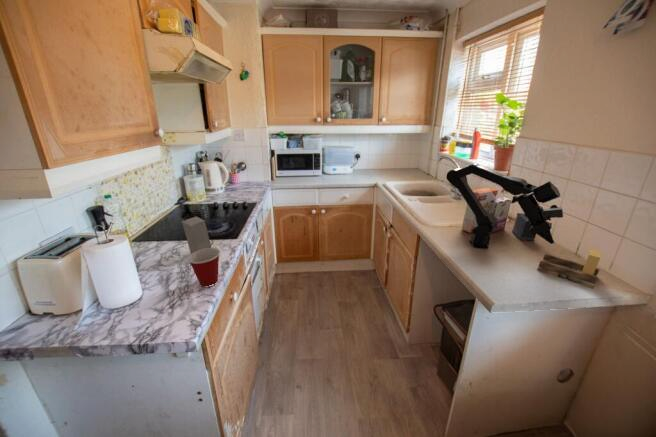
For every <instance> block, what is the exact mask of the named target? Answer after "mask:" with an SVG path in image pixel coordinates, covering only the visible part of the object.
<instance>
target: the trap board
mask: <svg viewBox="0 0 656 437" xmlns="http://www.w3.org/2000/svg"><path fill="white" fill-rule="evenodd" d="M584 266H585V264H584V263H581V262H577V261H573V260H571V259H567V258H562V257H560V256H556V255H553V254H549V253H546V252H545V253H544V255H543V258H542V259H540V261H539V264H538V266H537V269H536V270H537V271H539V272H541V273H545V274H549V275H551V276H554V277H558V278H560V279H564V280H566V281H568V282H572V283H575V284H578V285H581V286H584V287H587V288H591V289H594V287H595V285H596V283H597V280H598V279H599V278H598V274H599V272H600V268H597V267H596V269H595V272H594V274H593V276H591V275H588V274H585V273H582V271H583V268H584Z"/></svg>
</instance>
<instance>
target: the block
mask: <svg viewBox="0 0 656 437" xmlns="http://www.w3.org/2000/svg"><path fill="white" fill-rule="evenodd" d="M602 253H603V252H602V251H600V250H597V249H596V250H595V249H592V248H591V249H590V250H589V254H588V255H587V259H586V260H585V264H584V265H585V266H584V268H583V271H582V273H585V274H588V275H591V276H593V274H594V272H595V269H596V268H597V267H598V265H599V261H600V259H601V256H602Z"/></svg>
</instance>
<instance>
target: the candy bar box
mask: <svg viewBox="0 0 656 437" xmlns="http://www.w3.org/2000/svg"><path fill="white" fill-rule="evenodd" d="M512 199H513V198H512ZM512 199H511V198H508V197H504V196H502V197H496V199H495V200H492V201H490V206H489V210H488V213H491V212H493V214H494V216H495V217H496V218H497V219H498V220H497V222H498V225H497V227H496V228H495V229H494V230H493V231H492V232H490V233H489V234H492V233H496V232H501V231H503V230H505V229H506V225H507V224H506V223H507V220H508V217H509V210H510V207H511V204H512V203H511V202H512Z"/></svg>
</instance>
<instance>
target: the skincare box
mask: <svg viewBox="0 0 656 437" xmlns="http://www.w3.org/2000/svg"><path fill="white" fill-rule="evenodd" d="M181 221H182V222H181V223H182V226H183V229H184V233H185V238H186V240H187V244H188V248H189V252H190V254H192V253H193V252H196V251H198V250H202V249H207V248H212V246H211V241H210V237H209V233H208V228H207V225H206V220H203V219H202V218H200V217H199V216H194V217H191V218H188V219H184V220H181Z"/></svg>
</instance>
